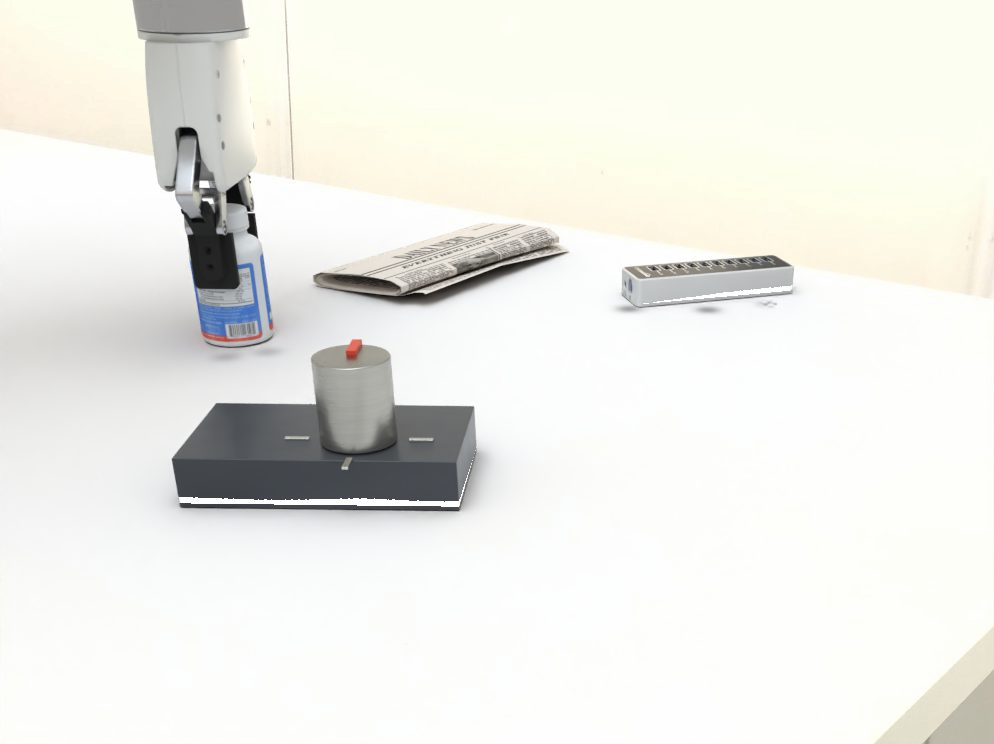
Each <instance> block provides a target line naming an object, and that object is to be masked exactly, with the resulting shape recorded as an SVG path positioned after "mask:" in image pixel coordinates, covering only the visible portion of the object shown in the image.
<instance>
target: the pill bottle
mask: <svg viewBox="0 0 994 744" xmlns="http://www.w3.org/2000/svg"><path fill="white" fill-rule="evenodd" d="M209 204H210V205H211V206H212V209H213V211H214V213H215V209H214V203H209ZM226 207H227V233H233V236H234V243H235V250H236V258H237V265H238V272H239V279H240V285H239V286H238V287H237V288H236V289H199V288H197V287H196V286H195V283H194V276H193V270H192V264H191V257H190V251H189V246H188V248H187V252H188V260H189V265H190V271H191V277H192V283H193V288H194V293H195V294H194V295H195V300H196V306H197V313H198V318H199V326H200V330H201V335H202V338H203V340H204V341H205V342H207V343H209V344H211V345H214V346H218V347H219V346H220V347H230V348H234V347H236V348H237V347H244V346H245V347H246V346H251V345H254V344H255V345H256V344H259V343H262V342H265V341H267V340H269V339H271V337H272V336H273V334H274V330H275V329H274V320H273V314H272V306H271V300H270V292H269V286H268V279H267V269H266V264H265V257H264V250H263V244H262V243H261V241H260V238H259V237H258V238H256V237H255V236H253V235H251V234H248V233H247V229H248V228H249V220H248V214H247V213H248V212H247V208H246V207H245V206H243V205H240V204H233V203H226Z"/></svg>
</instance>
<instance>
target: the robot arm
mask: <svg viewBox="0 0 994 744" xmlns="http://www.w3.org/2000/svg"><path fill="white" fill-rule="evenodd" d="M131 2H132V7H133V13H134V14H133V15H134V20H135V27H136V32H137V37H138V39H139V40H142V41H144V68H145V69H144V70H145V86H146V96H147V107H148V115H149V116H148V117H149V125H150V133H151V142H152V149H153V158H154V166H155V173H156V180H157V184H158V185H159V187H160V188H161V189H162V190H164V192H166V193H167V192H168V193H172V192H174V196H175V201H176V202H177V204H178V205H179V207H180V212H181V215H183V224H184V225H183V227H184V232H185V234H186V236H187V237H186V238H187V244H188V247H189V251H190V257H191V264H192V270H193V276H194V283H195V286H196V287H197V288H199V289H236V288H237V287H238V286H239V285H240V279H239V272H238V265H237V258H236V250H235V243H234V236H233V233H227V207H226V203H233V204H240V205H243V206H245V207H246V208H247V214H248V220H249V228H248V229H247V233H248V234H251V235H253V236H255V237H256V238H258V239H259V235H258V234H259V233H258V226H257V219H256V213H255V200H254V195H253V191H252V187H251V183H252V181H251V179H252V177H251V174H250V173H251V172H253V170H254V169H255V168H256V166H257V161H258V154H257V153H258V152H257V140H256V129H255V122H254V114H253V108H252V101H251V94H250V89H249V83H248V82H249V81H248V77H247V72H246V65H245V58H244V55H243V51H242V44H241V40H243V39H247V38H249V37H251V26H250V18H249V11H248V2H247V0H131ZM200 181H201V182H208V186H209V187H200ZM203 199H212V201H213V204H214V209H215V213H214V211H213V209H212V206H211V205H210V204H211V203H210V201H208V200H203ZM194 283H193V284H194Z"/></svg>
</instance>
